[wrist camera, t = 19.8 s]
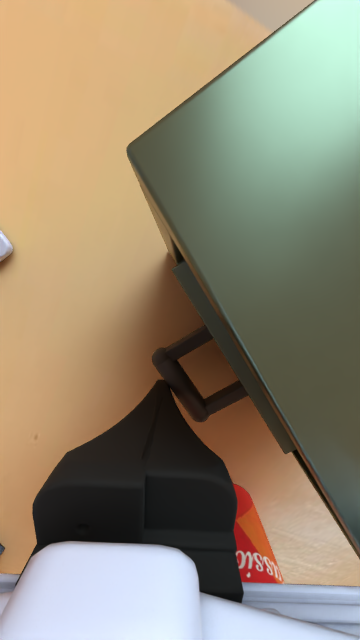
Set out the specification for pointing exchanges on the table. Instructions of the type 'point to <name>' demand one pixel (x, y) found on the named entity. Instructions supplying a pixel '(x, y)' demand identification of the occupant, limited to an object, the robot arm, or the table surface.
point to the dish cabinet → (279, 228)
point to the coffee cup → (253, 544)
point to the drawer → (215, 329)
